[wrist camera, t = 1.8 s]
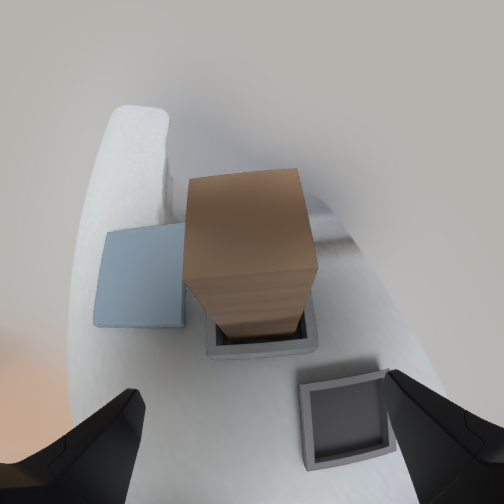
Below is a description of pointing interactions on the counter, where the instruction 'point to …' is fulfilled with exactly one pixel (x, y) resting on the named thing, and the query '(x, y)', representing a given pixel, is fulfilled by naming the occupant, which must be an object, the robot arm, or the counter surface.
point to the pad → (142, 278)
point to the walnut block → (249, 252)
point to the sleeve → (263, 349)
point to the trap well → (344, 421)
